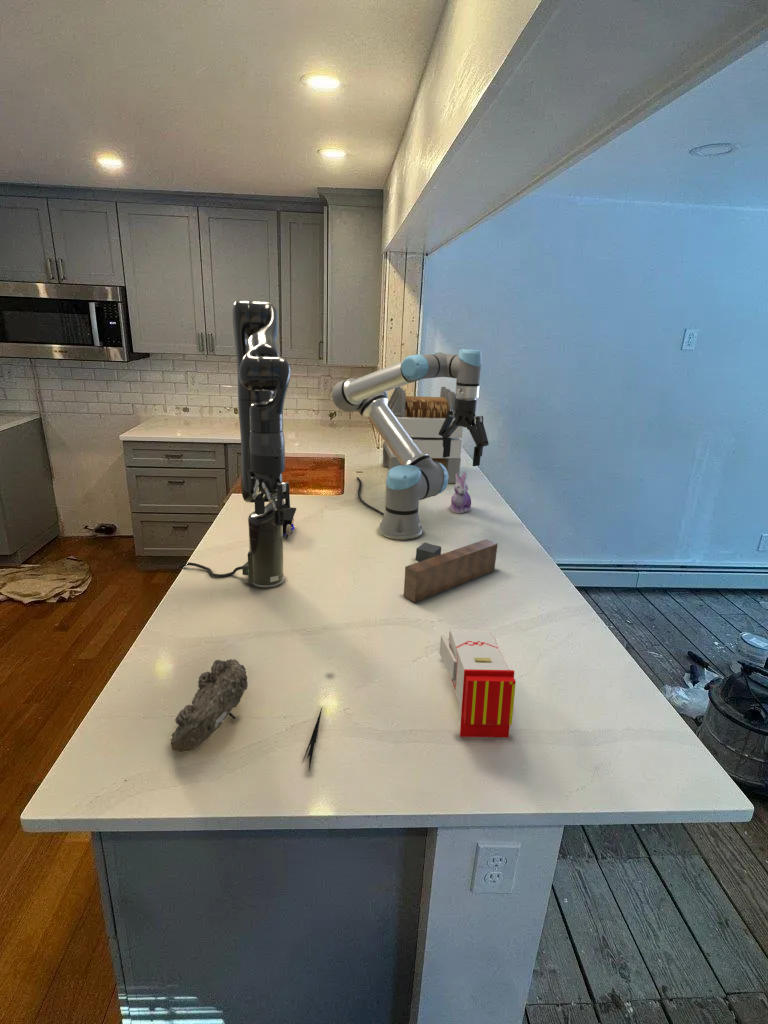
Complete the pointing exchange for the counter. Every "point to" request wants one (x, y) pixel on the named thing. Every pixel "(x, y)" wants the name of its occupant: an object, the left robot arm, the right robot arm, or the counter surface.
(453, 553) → the walnut bar
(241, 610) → the counter surface
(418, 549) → the grey block
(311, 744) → the feather
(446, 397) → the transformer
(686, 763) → the counter surface
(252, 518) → the left robot arm
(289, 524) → the figurine character
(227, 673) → the fossil
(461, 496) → the figurine
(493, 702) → the toy
